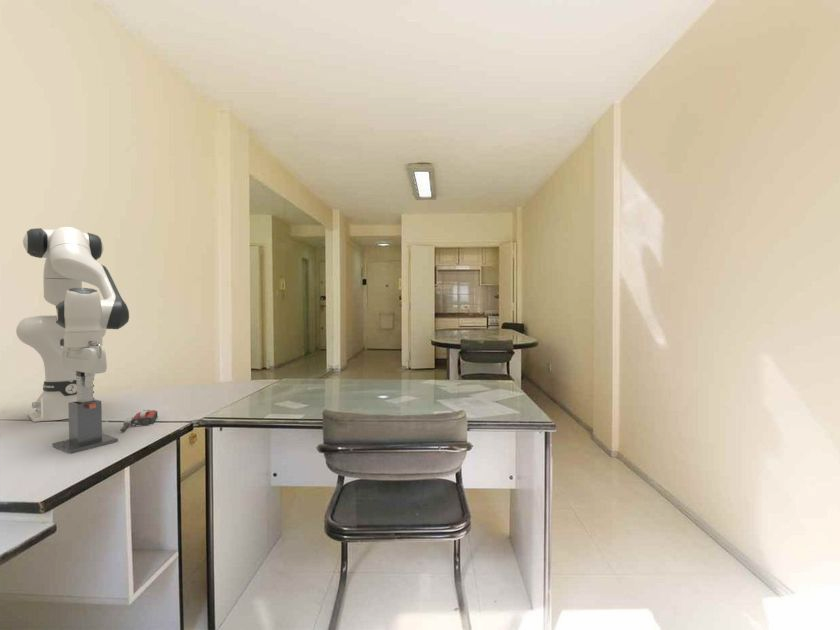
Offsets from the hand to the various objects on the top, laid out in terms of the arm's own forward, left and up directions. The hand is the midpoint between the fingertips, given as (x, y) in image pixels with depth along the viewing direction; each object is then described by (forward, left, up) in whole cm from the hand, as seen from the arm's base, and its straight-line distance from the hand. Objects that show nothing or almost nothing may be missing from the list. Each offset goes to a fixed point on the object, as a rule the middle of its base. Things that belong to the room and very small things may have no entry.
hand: (84, 386), depth 122 cm
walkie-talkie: (-9, +19, -18) cm, 28 cm away
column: (0, 0, -16) cm, 16 cm away
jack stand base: (0, 0, -18) cm, 18 cm away
